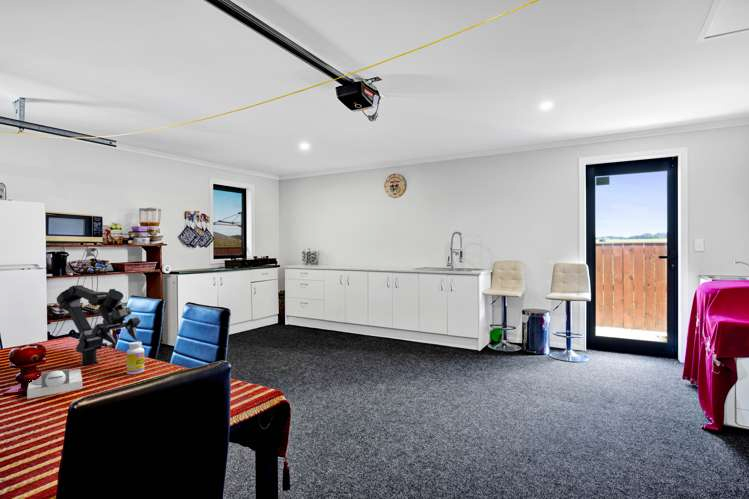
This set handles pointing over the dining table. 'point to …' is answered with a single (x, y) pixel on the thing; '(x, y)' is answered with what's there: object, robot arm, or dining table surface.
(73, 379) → the kitchen scale
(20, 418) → the dining table surface
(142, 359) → the supplement bottle
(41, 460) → the dining table surface
